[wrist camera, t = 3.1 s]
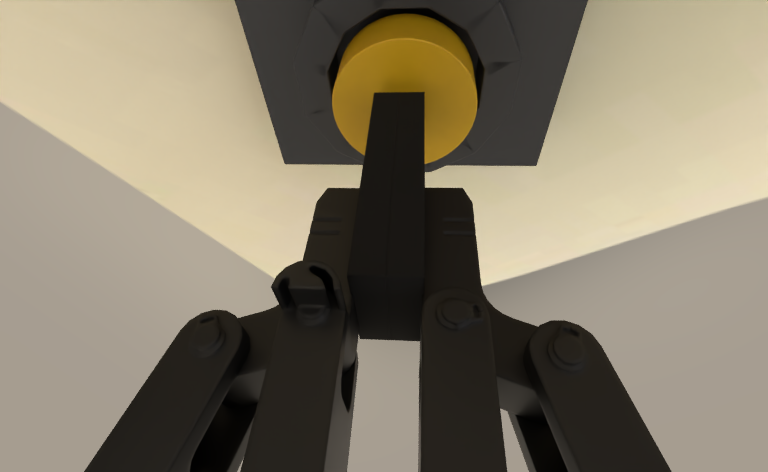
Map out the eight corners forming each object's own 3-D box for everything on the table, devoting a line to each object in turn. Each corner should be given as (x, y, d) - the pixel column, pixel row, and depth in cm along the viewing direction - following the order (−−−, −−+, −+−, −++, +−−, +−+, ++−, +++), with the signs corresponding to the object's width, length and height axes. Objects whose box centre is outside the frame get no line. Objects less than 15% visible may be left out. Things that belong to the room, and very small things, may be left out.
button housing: (602, -130, 12) (647, -99, 10) (529, 137, 20) (543, 193, 18) (228, -112, 13) (181, -79, 11) (294, 137, 21) (275, 190, 19)
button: (482, 10, 12) (488, 36, 11) (465, 138, 16) (469, 167, 15) (329, 14, 13) (320, 39, 12) (347, 138, 17) (341, 166, 15)
